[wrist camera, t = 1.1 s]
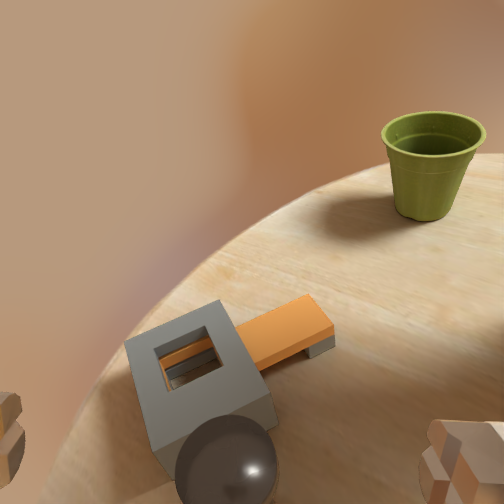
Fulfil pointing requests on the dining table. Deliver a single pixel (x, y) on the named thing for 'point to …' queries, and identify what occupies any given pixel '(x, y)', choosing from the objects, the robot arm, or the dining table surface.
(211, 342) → the bracket
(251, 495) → the pin
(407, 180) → the plant pot
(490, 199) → the dining table surface
